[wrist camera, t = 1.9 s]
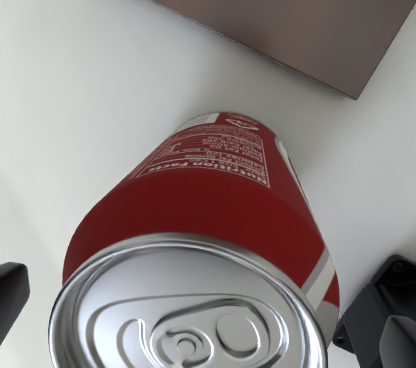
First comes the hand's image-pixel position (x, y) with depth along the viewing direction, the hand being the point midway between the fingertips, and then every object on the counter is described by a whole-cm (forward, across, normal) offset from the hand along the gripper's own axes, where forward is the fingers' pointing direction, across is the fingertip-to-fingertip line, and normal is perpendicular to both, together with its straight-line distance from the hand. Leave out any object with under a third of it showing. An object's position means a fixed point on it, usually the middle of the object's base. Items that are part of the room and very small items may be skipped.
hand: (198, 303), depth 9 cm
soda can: (+10, 0, 0) cm, 10 cm away
